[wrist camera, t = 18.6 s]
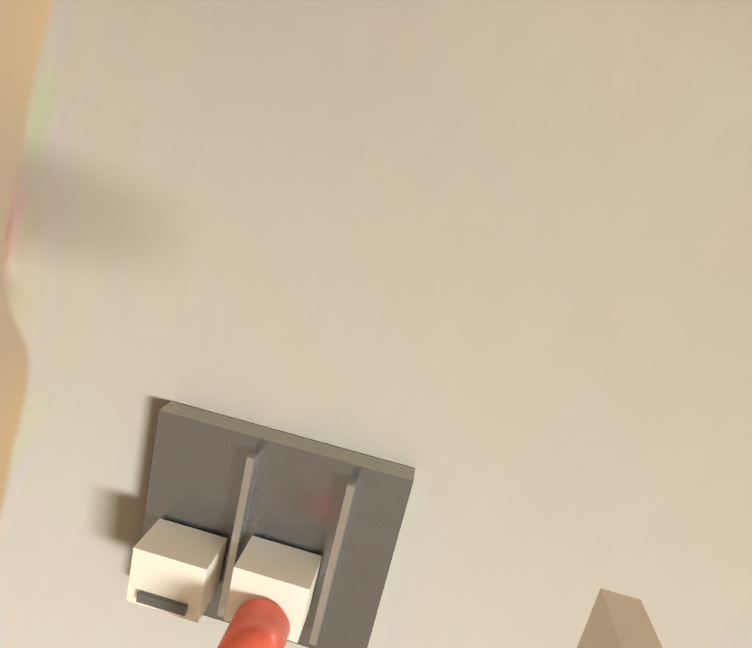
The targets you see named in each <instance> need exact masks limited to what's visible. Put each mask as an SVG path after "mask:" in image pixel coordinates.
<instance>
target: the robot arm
mask: <svg viewBox="0 0 752 648" xmlns="http://www.w3.org/2000/svg"><path fill="white" fill-rule="evenodd" d="M577 648H662V646H661V643H660V641H659V639H658V637H657V635H656V633H655V630H654V628H653V626H652V624H651V622H650V619H649V617H648V615H647V613H646V611H645V609H644V606H643V604H642V602H641V600H639V599H636V598H632V597H629V596H625V595H622V594H618V593H615V592H611V591H608V590H604V589H600V591H599V594H598V596H597V599H596V601H595V604H594V606H593V609H592V611H591V614H590V616H589V619H588V621H587V624H586V627H585V629H584V632H583V634H582V637H581V639H580V642H579V644H578V647H577Z"/></svg>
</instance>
